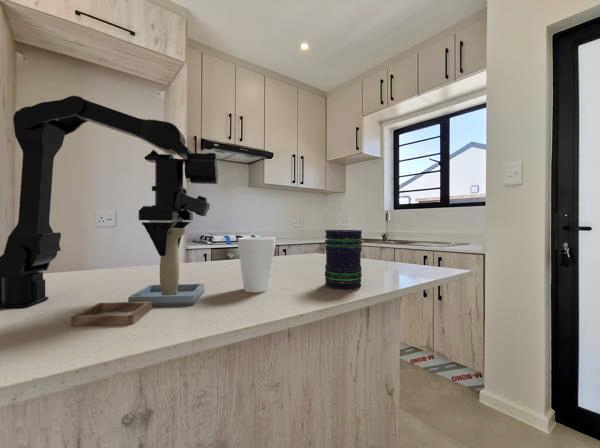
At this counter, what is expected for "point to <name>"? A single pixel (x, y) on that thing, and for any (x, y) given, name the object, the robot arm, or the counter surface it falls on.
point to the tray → (185, 295)
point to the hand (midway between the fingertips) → (169, 253)
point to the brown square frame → (92, 319)
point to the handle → (171, 264)
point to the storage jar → (343, 259)
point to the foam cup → (256, 262)
